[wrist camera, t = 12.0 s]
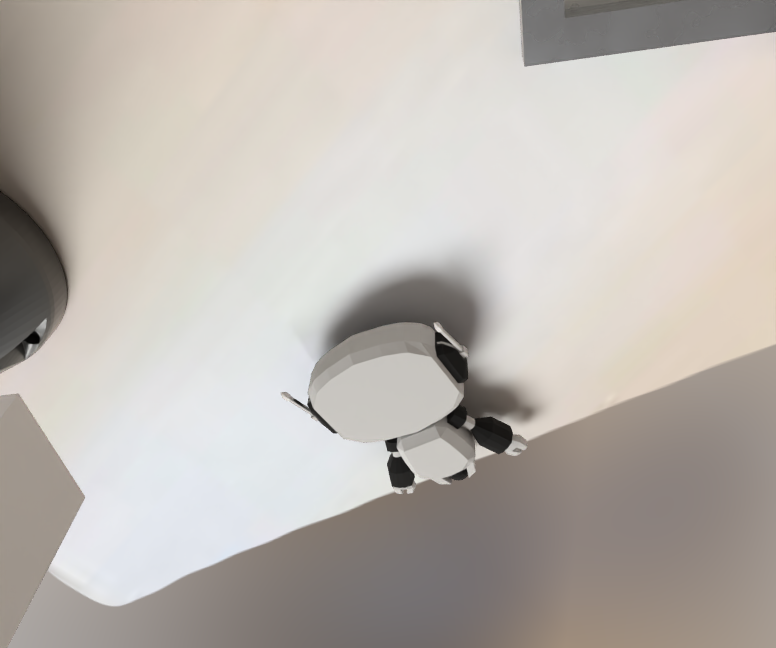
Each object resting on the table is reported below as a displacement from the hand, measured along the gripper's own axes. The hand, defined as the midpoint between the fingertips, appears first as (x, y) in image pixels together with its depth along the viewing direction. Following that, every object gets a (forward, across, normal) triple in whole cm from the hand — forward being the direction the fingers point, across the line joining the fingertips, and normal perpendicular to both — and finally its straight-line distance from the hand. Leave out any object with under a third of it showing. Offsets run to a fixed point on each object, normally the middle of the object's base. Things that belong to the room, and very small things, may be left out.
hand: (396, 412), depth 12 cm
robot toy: (+30, -5, -25) cm, 40 cm away
